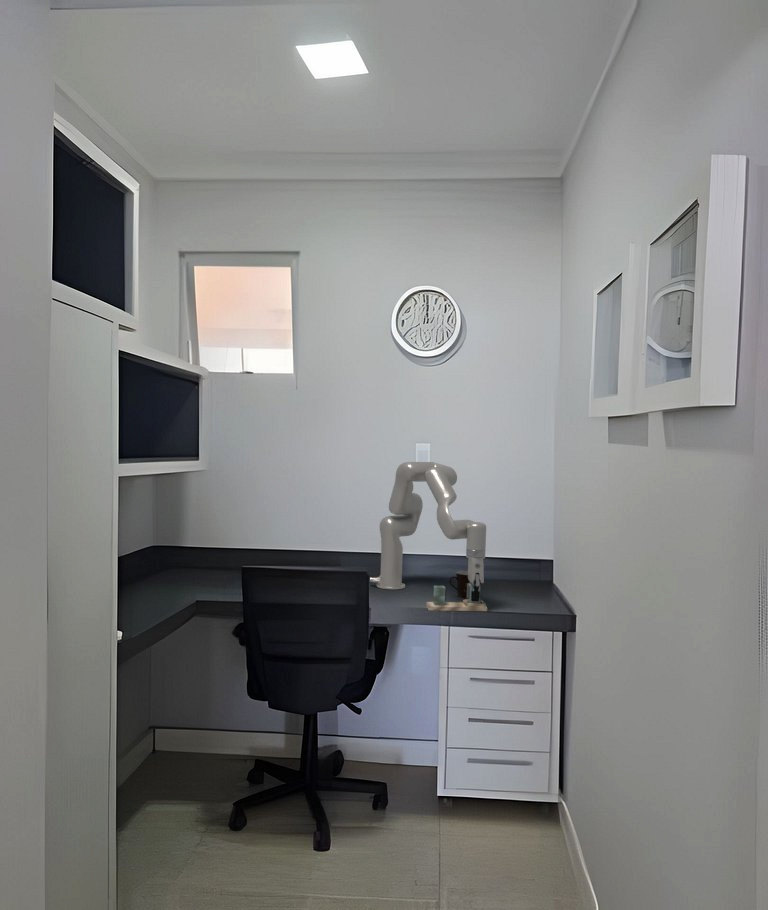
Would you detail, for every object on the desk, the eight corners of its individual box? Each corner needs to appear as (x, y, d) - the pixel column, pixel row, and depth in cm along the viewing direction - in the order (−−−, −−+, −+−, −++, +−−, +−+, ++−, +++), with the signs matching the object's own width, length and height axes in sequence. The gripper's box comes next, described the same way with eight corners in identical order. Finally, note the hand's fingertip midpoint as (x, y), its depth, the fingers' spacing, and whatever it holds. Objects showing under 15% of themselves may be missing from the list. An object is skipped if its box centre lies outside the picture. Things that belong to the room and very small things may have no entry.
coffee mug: (474, 594, 346) (475, 571, 345) (476, 598, 337) (477, 575, 337) (447, 593, 346) (448, 570, 345) (449, 598, 337) (449, 574, 337)
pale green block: (477, 600, 321) (478, 583, 320) (479, 603, 317) (480, 585, 316) (466, 600, 320) (467, 583, 320) (468, 602, 316) (468, 585, 316)
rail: (428, 610, 313) (429, 588, 313) (426, 605, 321) (427, 584, 321) (487, 611, 315) (487, 589, 314) (483, 606, 323) (484, 585, 322)
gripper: (489, 557, 310) (487, 604, 310) (481, 550, 326) (479, 595, 327) (470, 557, 309) (468, 604, 310) (462, 550, 326) (461, 595, 327)
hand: (474, 599), depth 318 cm, fingers closed on pale green block, 4 cm apart
